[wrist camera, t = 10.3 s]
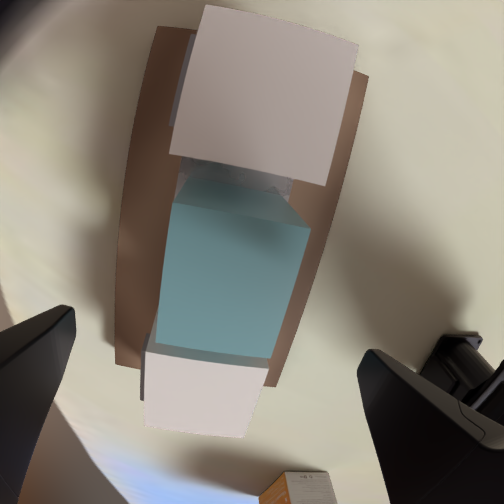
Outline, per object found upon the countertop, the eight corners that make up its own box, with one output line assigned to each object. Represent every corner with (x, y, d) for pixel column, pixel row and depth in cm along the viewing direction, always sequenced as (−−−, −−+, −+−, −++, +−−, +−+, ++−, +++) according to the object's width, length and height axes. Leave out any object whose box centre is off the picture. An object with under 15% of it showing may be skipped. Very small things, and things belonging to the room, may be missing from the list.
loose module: (281, 195, 17) (310, 229, 12) (256, 293, 19) (270, 358, 14) (188, 176, 16) (172, 202, 11) (171, 279, 18) (155, 342, 13)
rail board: (358, 79, 17) (368, 76, 16) (272, 374, 24) (275, 387, 23) (162, 33, 15) (157, 25, 14) (119, 351, 22) (115, 364, 21)
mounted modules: (321, 65, 15) (358, 45, 10) (238, 383, 22) (243, 438, 17) (201, 37, 14) (195, 2, 9) (148, 370, 21) (137, 424, 16)
